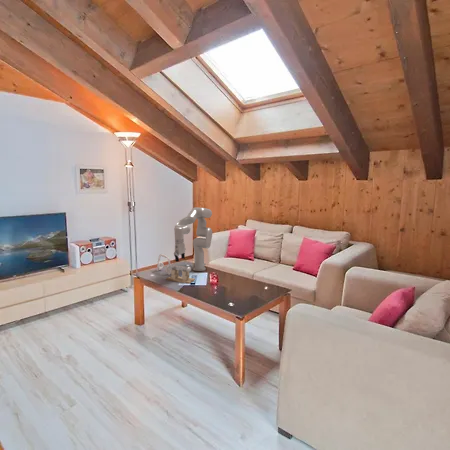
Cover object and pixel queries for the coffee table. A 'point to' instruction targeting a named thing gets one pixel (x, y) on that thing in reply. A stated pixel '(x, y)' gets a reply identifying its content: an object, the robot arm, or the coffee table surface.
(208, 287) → the coffee table surface
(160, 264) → the headset
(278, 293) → the coffee table surface
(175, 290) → the coffee table surface
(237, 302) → the coffee table surface
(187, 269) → the spanner
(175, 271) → the rack
